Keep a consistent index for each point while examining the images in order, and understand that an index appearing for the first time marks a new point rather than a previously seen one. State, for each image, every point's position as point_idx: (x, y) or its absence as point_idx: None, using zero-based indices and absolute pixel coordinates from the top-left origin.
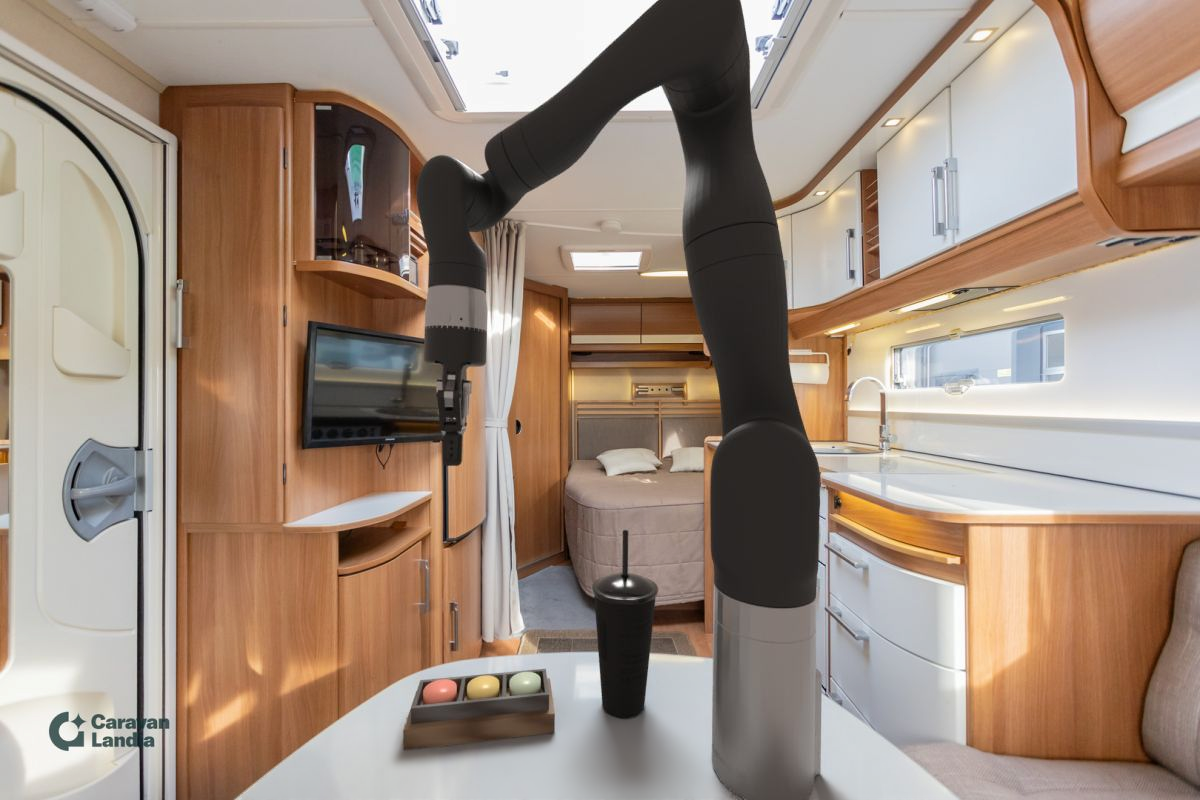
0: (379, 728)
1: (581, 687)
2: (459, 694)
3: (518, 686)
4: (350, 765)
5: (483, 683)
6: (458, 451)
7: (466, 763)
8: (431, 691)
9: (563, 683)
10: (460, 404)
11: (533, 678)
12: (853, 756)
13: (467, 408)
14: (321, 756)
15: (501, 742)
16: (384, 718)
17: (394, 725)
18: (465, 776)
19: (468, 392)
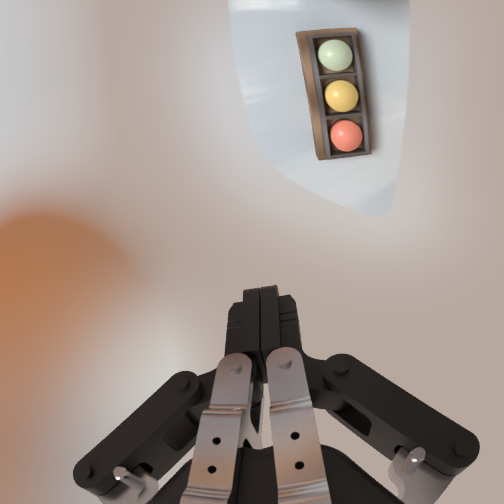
0: (339, 175)
1: (279, 2)
2: (352, 116)
3: (346, 61)
4: (376, 180)
5: (340, 96)
6: (279, 315)
7: (383, 97)
8: (350, 143)
9: (273, 20)
10: (423, 428)
11: (332, 46)
12: None
13: (290, 430)
14: (365, 203)
15: None
16: (327, 176)
17: (336, 165)
18: (395, 96)
19: (328, 492)
